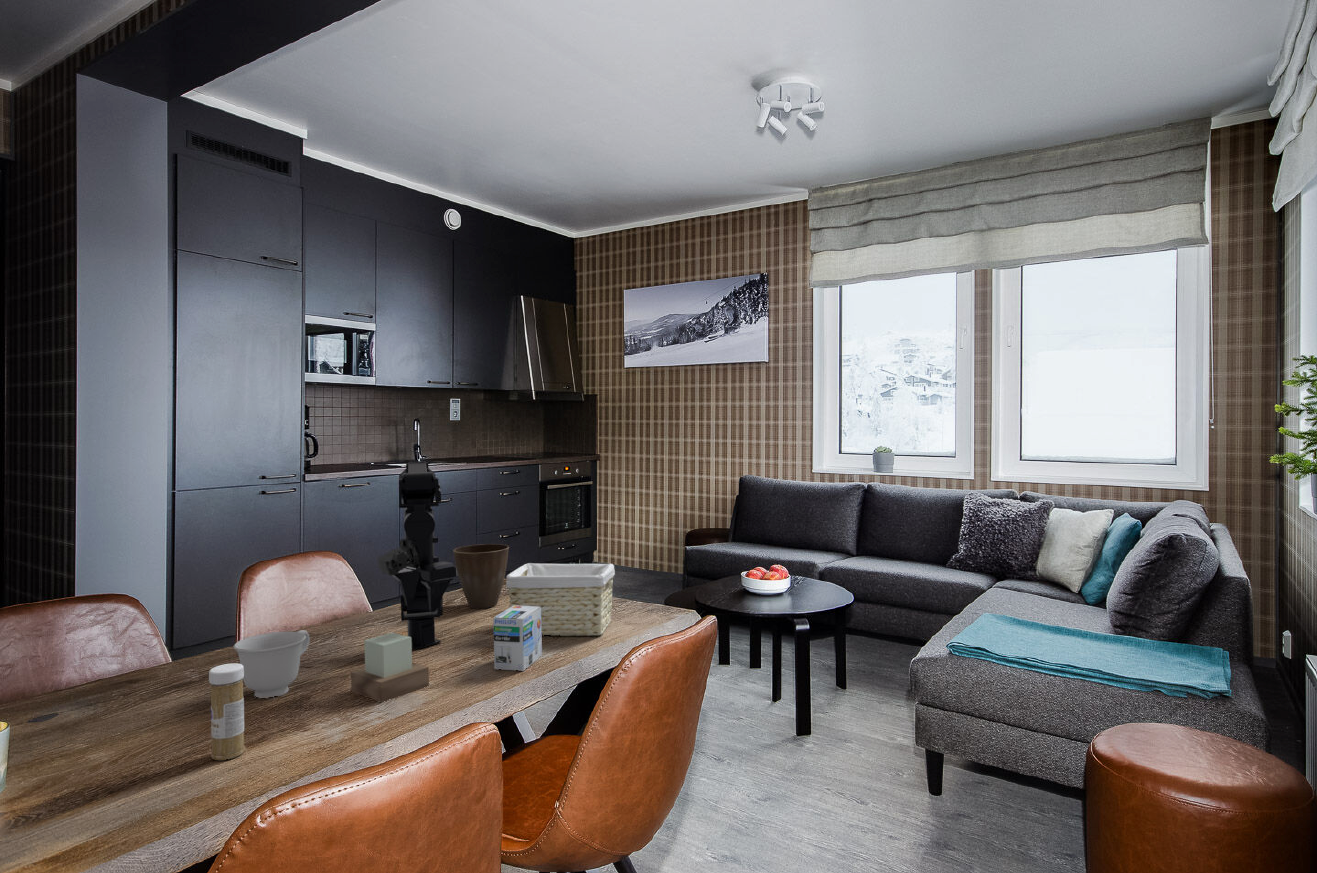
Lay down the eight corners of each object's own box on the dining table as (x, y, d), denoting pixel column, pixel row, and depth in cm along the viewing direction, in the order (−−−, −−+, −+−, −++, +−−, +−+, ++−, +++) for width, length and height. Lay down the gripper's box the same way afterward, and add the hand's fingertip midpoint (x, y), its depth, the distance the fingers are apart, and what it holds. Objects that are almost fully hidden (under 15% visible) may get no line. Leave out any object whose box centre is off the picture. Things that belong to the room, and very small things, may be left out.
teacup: (332, 680, 143) (331, 629, 143) (269, 708, 129) (268, 652, 129) (285, 674, 147) (284, 625, 147) (219, 701, 133) (217, 647, 133)
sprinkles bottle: (206, 756, 110) (204, 668, 110) (239, 745, 114) (236, 660, 114) (217, 764, 107) (215, 674, 107) (250, 753, 111) (248, 666, 111)
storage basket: (504, 637, 170) (503, 575, 170) (525, 619, 187) (524, 562, 186) (604, 639, 168) (603, 575, 167) (617, 620, 184) (616, 562, 183)
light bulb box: (524, 672, 146) (523, 618, 146) (492, 670, 147) (491, 617, 147) (543, 655, 157) (542, 605, 156) (513, 653, 158) (512, 604, 158)
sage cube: (365, 672, 137) (364, 640, 137) (393, 663, 142) (392, 632, 142) (384, 678, 133) (383, 645, 133) (412, 668, 138) (411, 637, 138)
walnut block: (351, 693, 137) (350, 672, 137) (398, 678, 145) (397, 658, 145) (381, 704, 131) (381, 682, 131) (428, 688, 139) (428, 667, 139)
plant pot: (445, 611, 195) (443, 552, 195) (468, 598, 210) (467, 543, 209) (497, 613, 192) (496, 553, 192) (517, 599, 207) (516, 543, 207)
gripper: (360, 534, 150) (361, 609, 151) (407, 542, 138) (408, 624, 138) (409, 528, 159) (411, 599, 159) (457, 535, 146) (459, 612, 147)
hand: (421, 608), depth 150 cm, fingers open, 9 cm apart
